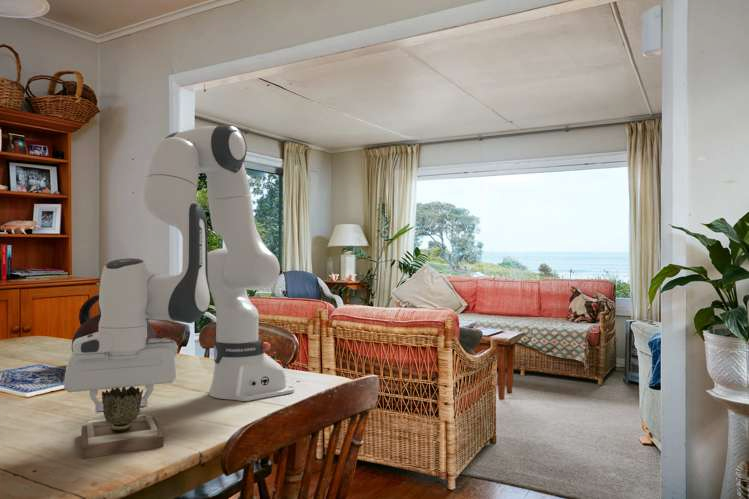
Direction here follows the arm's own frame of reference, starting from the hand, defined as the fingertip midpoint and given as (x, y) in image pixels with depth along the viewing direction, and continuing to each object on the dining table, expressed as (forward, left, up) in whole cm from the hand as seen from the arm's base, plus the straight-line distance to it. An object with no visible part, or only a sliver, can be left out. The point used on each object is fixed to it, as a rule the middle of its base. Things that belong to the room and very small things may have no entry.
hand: (121, 409), depth 109 cm
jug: (-3, -79, -6) cm, 79 cm away
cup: (0, 0, -4) cm, 4 cm away
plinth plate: (0, 0, -6) cm, 6 cm away
